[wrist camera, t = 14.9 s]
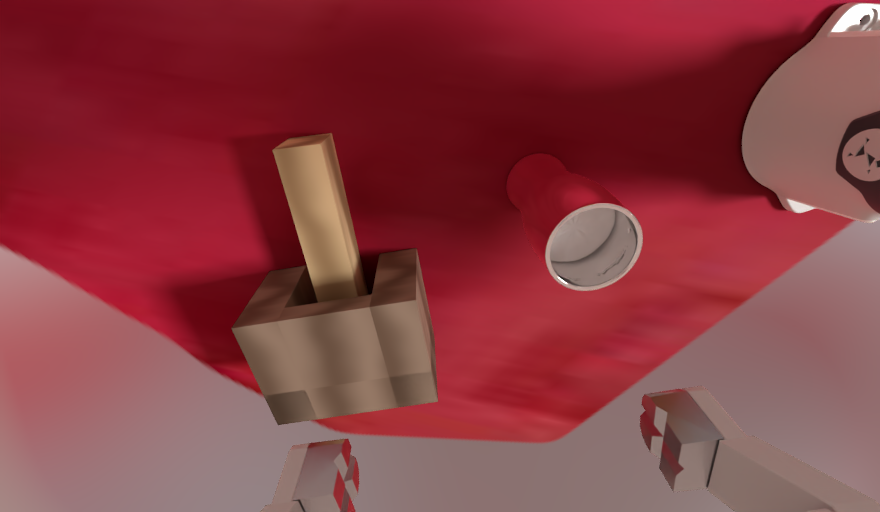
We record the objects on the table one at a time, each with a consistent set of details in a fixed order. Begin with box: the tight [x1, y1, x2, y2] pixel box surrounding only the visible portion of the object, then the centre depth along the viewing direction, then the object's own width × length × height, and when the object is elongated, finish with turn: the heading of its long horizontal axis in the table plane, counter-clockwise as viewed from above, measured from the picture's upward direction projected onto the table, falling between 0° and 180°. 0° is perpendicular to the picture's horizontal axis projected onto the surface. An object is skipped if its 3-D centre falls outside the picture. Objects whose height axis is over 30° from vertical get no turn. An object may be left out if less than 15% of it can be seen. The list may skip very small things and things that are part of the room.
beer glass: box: [506, 153, 643, 291], centre depth 34 cm, size 7×7×15 cm
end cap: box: [231, 248, 438, 425], centre depth 42 cm, size 16×12×10 cm
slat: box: [273, 133, 369, 303], centre depth 40 cm, size 4×18×5 cm, turn 6°
